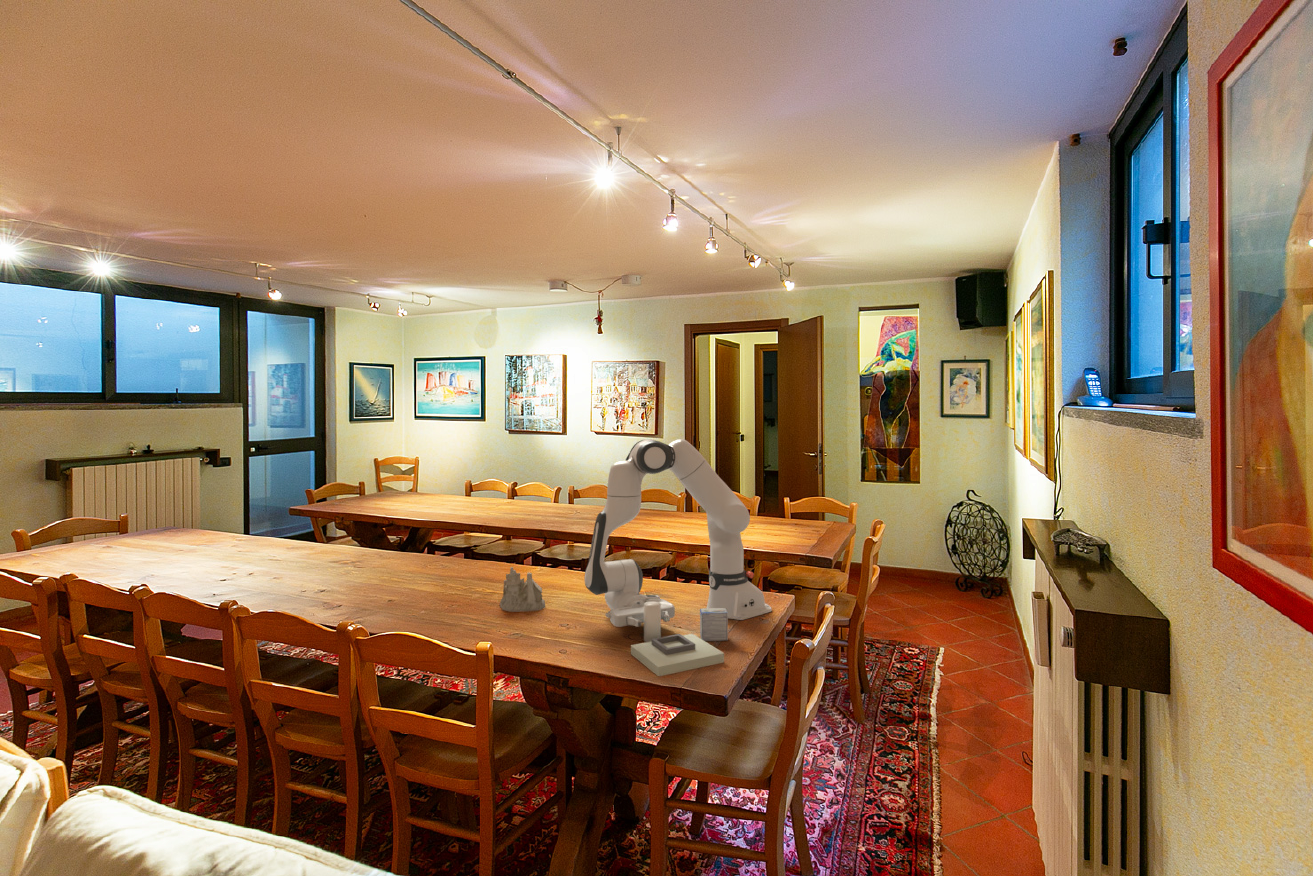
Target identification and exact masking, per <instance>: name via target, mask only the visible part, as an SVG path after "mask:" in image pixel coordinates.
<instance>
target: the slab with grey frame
mask: <svg viewBox="0 0 1313 876" xmlns="http://www.w3.org/2000/svg"><path fill="white" fill-rule="evenodd" d="M630 655H631V656H632V657H634V658H635V659H636V660H638V661H639V662H640V663H641V664H642V665H644V666H645V667H646V668H647V669H648V670H650V671H651V672H652V673H654V674H655V675H656V676H657V677H663V676H667V675H672V674H675V673H682V672H685V671H691V670H695V669H699V668H704V667H708V666H714V665H718V664H722V663H723V664H724V663H725V653H724V652H723V651H722V650H720V649H718V648H716V647H715V646H713V645H711V644H710V643H709V642H707V641H704V640H702V639H701V637H700V636H698V635H695V634H694V633H689V634H684V635H683V634H681V633H677V634H671V635H665V636H661V637H660V638H654V639H652V641H651V642H642V643H641V642H640V643H636V644H631V645H630Z"/></svg>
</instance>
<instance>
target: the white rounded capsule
mask: <svg viewBox="0 0 1313 876" xmlns="http://www.w3.org/2000/svg"><path fill="white" fill-rule="evenodd" d="M660 637H662V621H661V604H660V603H659V602H646V603H644V623H643V641H644V642H643V643H645V642H651V641H652V639H654V638H660Z"/></svg>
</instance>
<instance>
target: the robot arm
mask: <svg viewBox="0 0 1313 876" xmlns="http://www.w3.org/2000/svg"><path fill="white" fill-rule="evenodd" d="M667 470H669V471H671V472H672V473H673V474H674V475H675V477H676V478H677V479H678V481H679V482H680V483H681V485H683V487H684V488H685V490H687V492H688V493H689V494H690V496H691V497H692V498H693V500H694V501H696V502H697V503H698V505H699V506H700V507H701V508H702V509H703V511H705V513H706V520H707V531H708V539H709V547H710V550H709V551H710V553H709V555H710V558H709V559H710V562H709V563H710V568H709V571H708V572H709V573H708V582H709V583H708V584H709V594H708V600H707V604H706V605H707V606H706V608H725V609H726V610H727V613H728V619H732V620H738V621H744V620H747V619H751V618H754V617H757V616H761V615H764V614H768V613H771V612H772V607H771V605H769V604H768V603H766V602H765V596H764V593H763V591H762V590H761V589H760V588H758V587H757V586H756V585H754V584H753V583H752V582H751V581H749V578H750V579H753V577H754V576H755V573H754V572H753V571H749V570H748V571H747V570H745V569H744V543H743V541H742V538H741V537H742V536H741V533H742V532H744V531H745V530H746V529H747V528H748V526H749V524H750V521H751V516H750V512H749V510H748V508H747V507H746V505H745V504H744V503H743V501H742V500H741V499H740V498H739V497H738V496H737V495H736V494H735V492H734V491H733V490H732V489H731V488H730V487H729V486H728V485H727V483H726V482H725V481H724V480H723V479H722V478H721V477H720V476H719V474H717V472H716V471H715V470H714V469H713V467H712V466H711V465H710V463H709V462H708V461H707V460H706V458H705V457H704V456H703V454H701V453H700V451H699V450H698V449H696V447H695V446H693V444H691V443H690V442H689V441H688V440H686V439H684V438H678V439H674V440H673V441H671V442H670V443H669V444H666V443H664V442H661V441H658V440H655V439H651V438H650V439H648V438H647V439H642V440H640V441H637V442H636V443H634V445H632V448H631V449H630V451H629V453H628V455H627V457H626V458H625V460H619V461H617V462H616V461H615V462H614V463H613V464H612V465H611V467H610V468H609V473H608V478H607V479H608V480H607V490H606V491H607V493H606V495H607V496H606V502H605V505H604V507H603V509H602V511H601V512H599V513H598V514H597V516H596V519H595V522H594V526H593V532H592V533H593V534H592V537H591V543H590V550H589V557H588V561H587V565H586V568H585V571H584V585H585V587H586V589H587V591H589V592H590V593H592V594H593V595H595V596H599V595H604V600H605V602H606V605H607V606H608V608H609V609H610V610H608V611H607V612H605V614H604V615H605V617H606V618H608V619H610V623H611V624H612V625H613V626H614V627H616V628H623V627H627V626H632V627H633V626H635V627H636V628H637V627H642V624H644V603H646V602H659V603H660V604H661V620H662V621H663V622H665V623H667V622H670V620H671V619H672V618H674V617H675V614H676V608H675V605H674V604H673V603H671V602H669V600H668V601H667V600H666V599H664V598H661V597H660V595H658V594H642V593H640V592H641V590H642V587H643V582H644V578H643V571H642V568H641V567H640V565H639V564H638V562H636V561H635V560H634V559H632V558H629V559H618V560H613V561H612V560H609V561H605V558H606V557H605V556H606V550H607V545H608V539H609V537H610V535H611V534H612V533H613V532H614V531H615V530H617V529H618V528H620V527H622V526H625V525H626V524H628V523H630V522H632V521H633V520H634V519H635V518H637V516H638V515H639V513H640V511H641V507H642V482H643V479H644V477H645V476H646V475H647V474H649V475H650V474H651V475H656V474H659V473H662V472H665V471H667Z"/></svg>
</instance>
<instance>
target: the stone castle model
mask: <svg viewBox="0 0 1313 876" xmlns="http://www.w3.org/2000/svg"><path fill="white" fill-rule="evenodd" d="M542 593H543V588H542V587H541V586H540V585H539V584H538V583H537V582H536V581H535V580H534V579H533V573H532V572H527V573H526V580H525V578H523V577H522V578H521V572H518V573H517V570H516V569H514V567H513V566H510V569H509V573H506V574H505V579H504V580H503V591H502V597H501V599H500V602H499V607H500V609H501V608H502V609H501V610H502V611H506V612H511V613H516V612H517V613H519V612H537V611H541V610H544V609H546V603H545V602H546V601H545V599H543V595H542ZM543 608H544V609H543Z"/></svg>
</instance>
